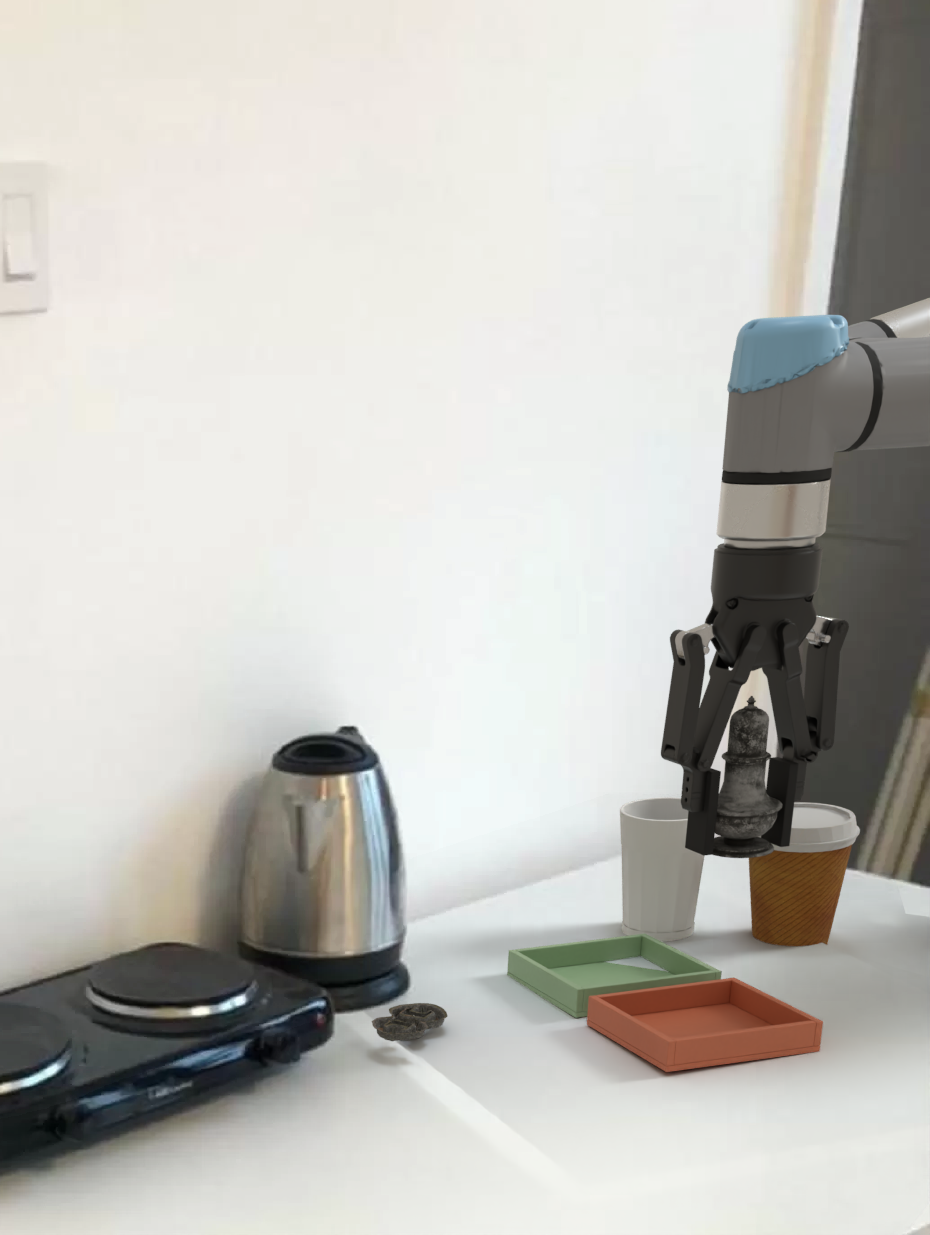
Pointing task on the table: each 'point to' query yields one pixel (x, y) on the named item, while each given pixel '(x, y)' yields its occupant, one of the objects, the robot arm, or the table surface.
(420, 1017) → the corroded twin loop
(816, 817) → the disposable coffee cup
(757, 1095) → the table surface
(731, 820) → the salt shaker
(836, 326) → the robot arm
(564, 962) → the green tray
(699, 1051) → the terracotta tray
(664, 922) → the cup
